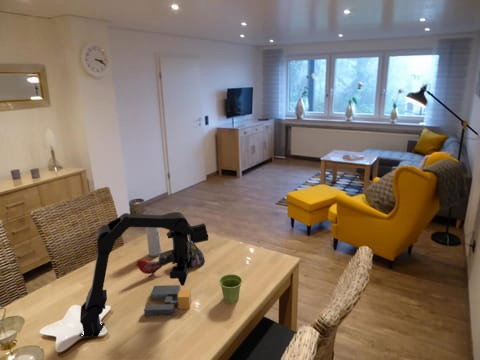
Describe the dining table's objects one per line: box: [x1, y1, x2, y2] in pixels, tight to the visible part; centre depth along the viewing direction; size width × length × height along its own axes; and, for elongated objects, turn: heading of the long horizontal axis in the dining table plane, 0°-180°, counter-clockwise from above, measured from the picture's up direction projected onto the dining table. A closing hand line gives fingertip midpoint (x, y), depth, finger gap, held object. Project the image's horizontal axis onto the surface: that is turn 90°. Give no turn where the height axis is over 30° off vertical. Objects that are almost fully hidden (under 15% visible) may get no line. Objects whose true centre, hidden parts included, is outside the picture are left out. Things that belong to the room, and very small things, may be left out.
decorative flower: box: [188, 240, 205, 269], centre depth 164 cm, size 15×12×15 cm
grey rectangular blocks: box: [143, 284, 181, 317], centre depth 136 cm, size 16×11×3 cm
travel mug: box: [145, 227, 162, 258], centre depth 172 cm, size 6×7×20 cm
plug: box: [164, 289, 192, 310], centre depth 134 cm, size 4×10×6 cm, turn 90°
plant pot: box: [218, 273, 243, 304], centre depth 136 cm, size 9×9×9 cm
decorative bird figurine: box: [134, 259, 163, 278], centre depth 155 cm, size 3×18×10 cm, turn 123°
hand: (183, 281), depth 131 cm, fingers open, 5 cm apart
